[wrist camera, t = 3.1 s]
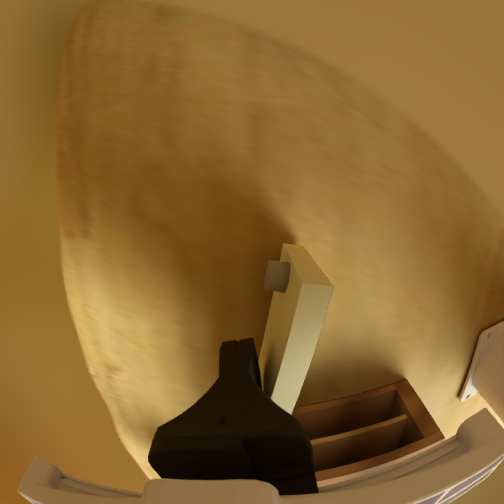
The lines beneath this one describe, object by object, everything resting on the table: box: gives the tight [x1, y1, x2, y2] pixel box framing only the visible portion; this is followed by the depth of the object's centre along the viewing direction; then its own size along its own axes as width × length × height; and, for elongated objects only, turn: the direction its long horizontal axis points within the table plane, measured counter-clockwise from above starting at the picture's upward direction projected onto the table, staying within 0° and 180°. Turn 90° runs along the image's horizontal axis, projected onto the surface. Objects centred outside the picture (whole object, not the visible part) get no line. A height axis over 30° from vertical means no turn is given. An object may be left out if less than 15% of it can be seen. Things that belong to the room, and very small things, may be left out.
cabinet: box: [291, 379, 445, 487], centre depth 15 cm, size 11×11×6 cm
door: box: [258, 243, 334, 414], centre depth 12 cm, size 11×2×6 cm, turn 171°
